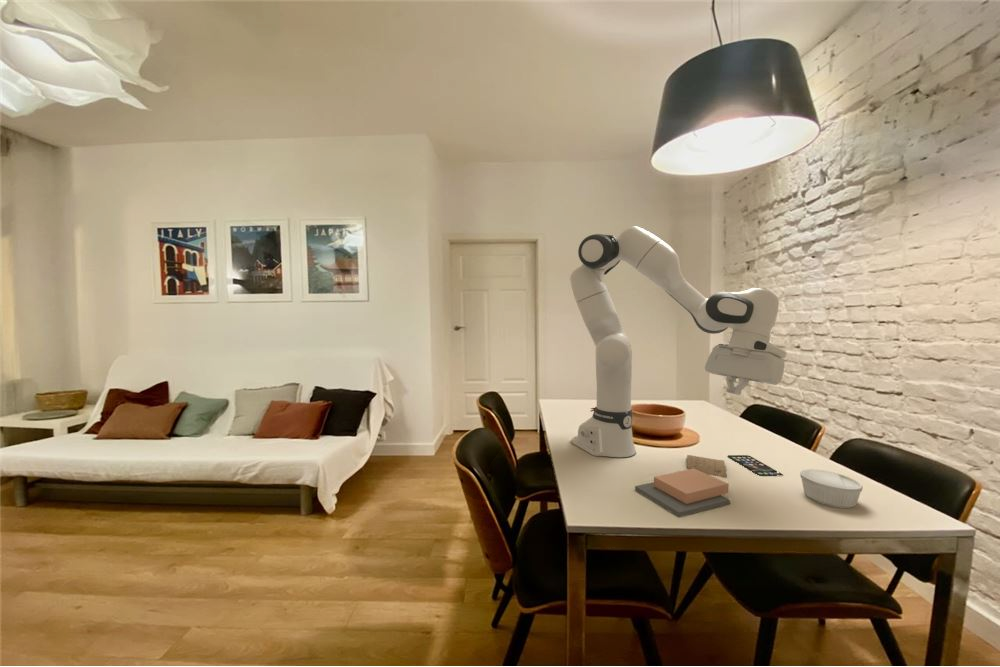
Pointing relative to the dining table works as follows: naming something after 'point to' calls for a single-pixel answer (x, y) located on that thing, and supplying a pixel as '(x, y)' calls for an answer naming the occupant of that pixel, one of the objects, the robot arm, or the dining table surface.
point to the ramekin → (831, 488)
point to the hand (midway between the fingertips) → (733, 393)
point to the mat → (677, 505)
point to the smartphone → (754, 465)
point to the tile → (691, 485)
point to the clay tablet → (707, 465)
